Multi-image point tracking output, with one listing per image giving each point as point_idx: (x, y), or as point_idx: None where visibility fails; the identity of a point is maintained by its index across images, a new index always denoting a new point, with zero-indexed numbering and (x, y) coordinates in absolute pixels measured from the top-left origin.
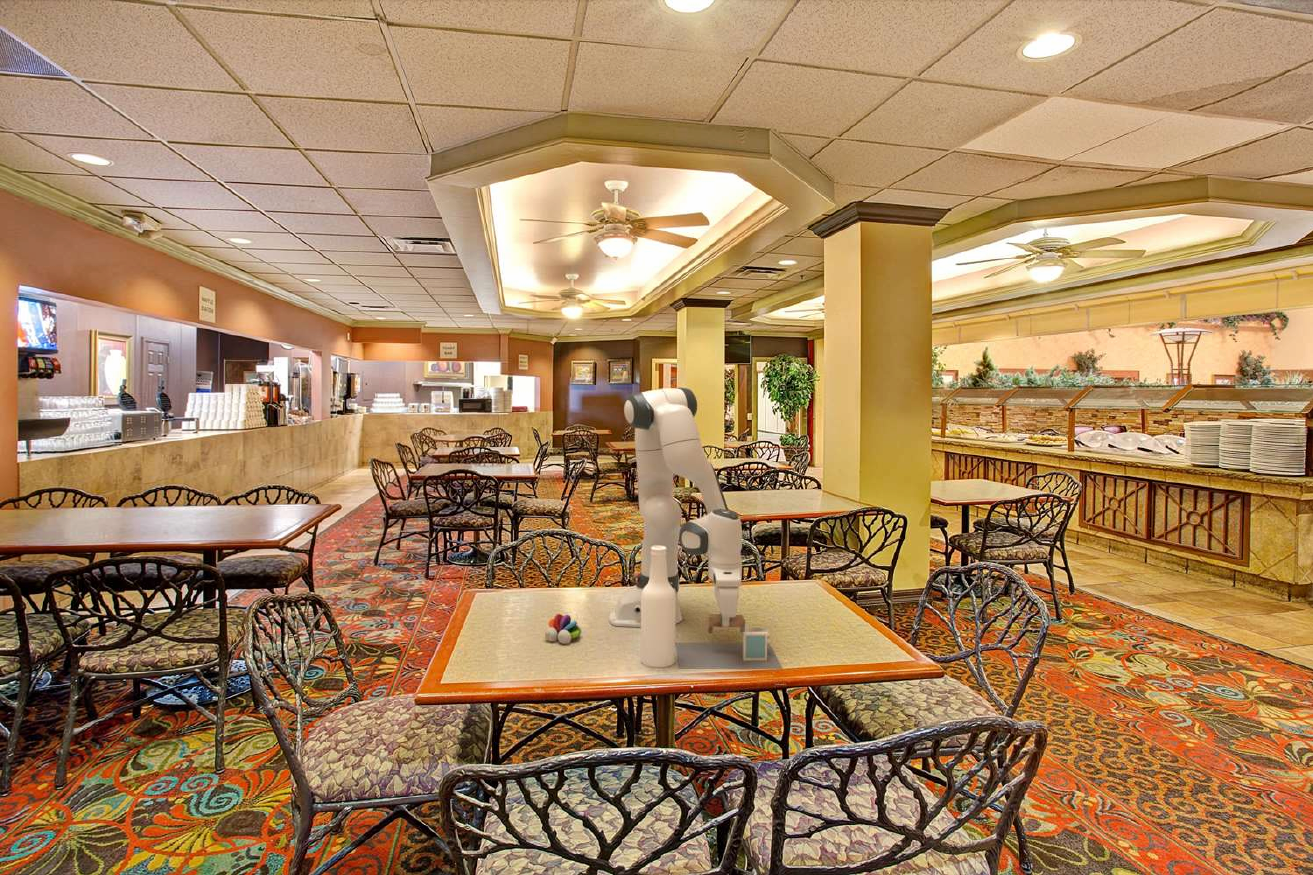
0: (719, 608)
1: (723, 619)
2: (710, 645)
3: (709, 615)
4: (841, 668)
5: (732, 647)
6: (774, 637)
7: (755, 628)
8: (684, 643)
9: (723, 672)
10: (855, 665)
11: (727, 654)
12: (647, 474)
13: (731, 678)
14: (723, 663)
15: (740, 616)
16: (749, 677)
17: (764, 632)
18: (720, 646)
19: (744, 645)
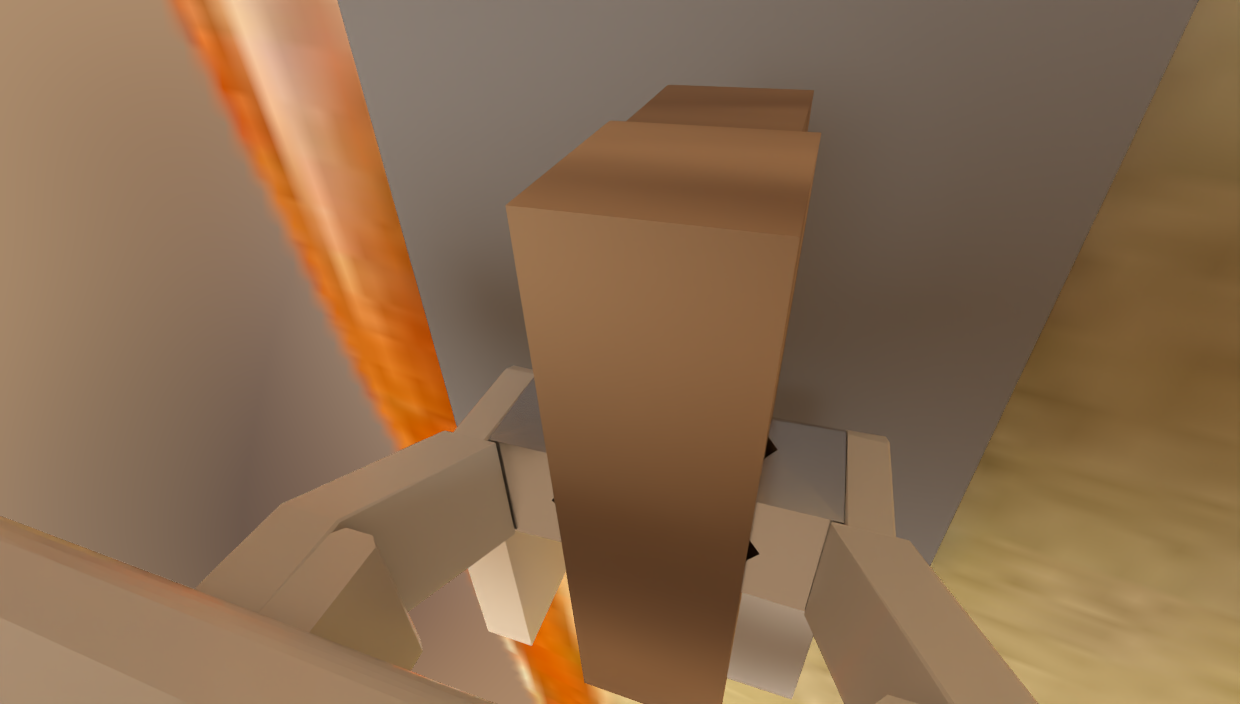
0: (118, 603)
1: (438, 451)
2: (1017, 95)
3: (655, 236)
4: (550, 652)
5: (874, 330)
6: (1071, 665)
7: (771, 636)
8: None
9: (367, 130)
10: (584, 694)
11: None
12: None
13: (292, 171)
14: (477, 161)
15: (644, 685)
16: (348, 289)
17: (510, 628)
18: (936, 219)
19: None
